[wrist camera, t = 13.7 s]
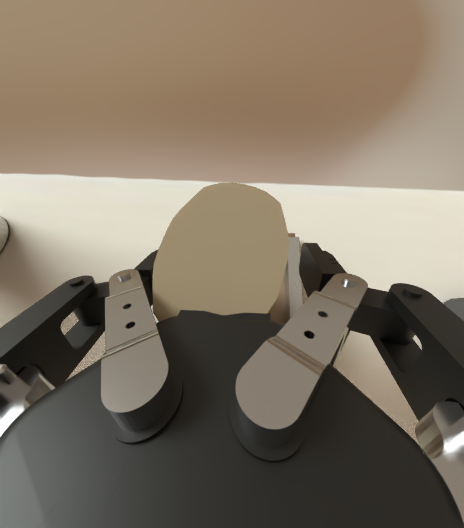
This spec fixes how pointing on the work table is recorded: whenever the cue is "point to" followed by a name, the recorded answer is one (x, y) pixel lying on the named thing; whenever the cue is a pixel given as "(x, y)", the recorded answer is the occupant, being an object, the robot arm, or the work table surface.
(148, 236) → the work table surface
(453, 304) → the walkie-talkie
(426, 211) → the work table surface
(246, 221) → the handle
